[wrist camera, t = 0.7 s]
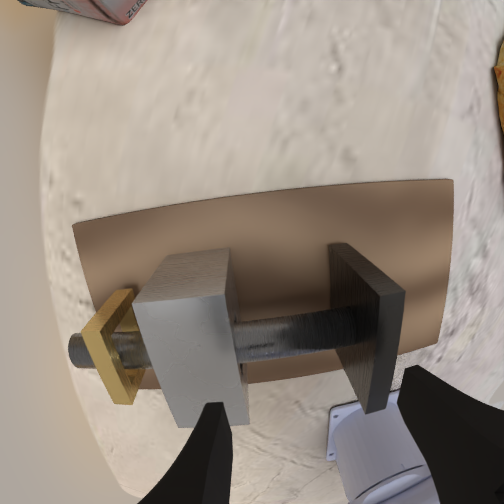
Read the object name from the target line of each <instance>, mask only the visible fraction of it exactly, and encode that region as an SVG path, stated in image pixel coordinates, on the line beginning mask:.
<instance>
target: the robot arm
mask: <svg viewBox="0 0 504 504" xmlns="http://www.w3.org/2000/svg"><path fill="white" fill-rule="evenodd" d="M326 460H327V461H332V460H336V462H337V466H338V469H339V473H340V476H341V479H342V483H343V486H344V490H345V493H346V496H347V499H348V500H349V503H348V504H504V411H503V410H500V409H497V408H495V407H492V406H490V405H487V404H485V403H482V402H480V401H478V400H476V399H474V398H472V397H470V396H468V395H466V394H464V393H463V392H461V391H459V390H457V389H456V388H454V387H452V386H451V385H449V384H447V383H446V382H444V381H443V380H441V379H440V378H438V377H436V376H435V375H433V374H432V373H430V372H429V371H427V370H425V369H424V368H422V367H420V366H419V365H415V366H412V367H408V368H405V370H404V375H403V379H402V383H401V387H400V390H398V391H395V392H392V393H390V394H389V398H388V402H387V406H386V409H384V410H380V411H377V412H373V413H370V414H366V415H365V413H364V411H363V409H362V407H361V404H360V402H355V403H351V404H347V405H342V406H338V407H334V408H332V409H331V411H330V420H329V432H328V443H327V452H326ZM232 461H233V446H232V432H231V429H230V425H229V422H228V418H227V414H226V411H225V407H224V403H223V402H208V403H206V404H205V405H204V408H203V410H202V413H201V415H200V417H199V419H198V422H197V424H196V426H195V428H194V430H193V431H192V433H191V435H190V437H189V439H188V441H187V442H186V444H185V446H184V447H183V449H182V451H181V452H180V454H179V455H178V457H177V458H176V460H175V461H174V463H173V464H172V466H171V467H170V468H169V470H168V471H167V472H166V474H165V475H164V476H163V477H162V479H161V480H160V481H159V482H158V483H157V484H156V485H155V487H154V488H153V489H152V490H151V491H150V492H149V493H148V494H147V495H146V496H145V497H144V498H143V499H142V500H141V501H140V502H139V503H137V504H229V498H230V486H231V474H232Z"/></svg>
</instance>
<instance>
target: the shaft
mask: <svg viewBox="0 0 504 504" xmlns="http://www.w3.org/2000/svg"><path fill="white" fill-rule="evenodd" d="M329 262H330V305H331V309H327V310H321V311H315V312H309V313H303V314H296V315H289V316H282V317H275V318H268V319H260V320H252V321H244V322H235V323H234V336H235V342H236V347H237V353H238V358H239V363H247V362H256V361H264V360H272V359H279V358H286V357H292V356H299V355H305V354H311V353H317V352H322V351H328V350H333V349H335V351H336V353H337V355H338V357H339V359H340V361H341V364H342V366H343V368H344V370H345V372H346V374H347V376H348V378H349V381H350V383H351V385H352V387H353V389H354V391H355V394H356V396H357V398H358V400H359V402H360V404H361V407H362V409H363V411H364V413H365V415H366V414H370V413H373V412H377V411H380V410H384V409H386V406H387V402H388V398H389V394H390V389H391V385H392V380H393V375H394V370H395V365H396V359H397V354H398V348H399V342H400V335H401V328H402V321H403V312H404V304H405V294H406V291H405V290H404V289H403V288H402V287H400V286H399V285H398V284H397V283H396V282H395V281H393V280H392V279H391V278H390V277H389V276H387V275H386V274H385V273H384V272H383V271H381V270H380V269H379V268H378V267H377V266H375V265H374V264H373V263H372V262H370V261H369V260H368V259H367V258H365V257H364V256H363V255H362V254H361V253H359V252H358V251H357V250H356V249H354V248H353V247H352V246H350V245H349V244H348V243H341V244H333V245H329ZM111 336H112V339H113V341H114V344H115V347H116V349H117V352H118V354H119V357H120V359H121V361H122V364H123V366H124V369H153V366H152V363H151V360H150V358H149V355H148V352H147V349H146V347H145V344H144V341H143V338H142V335H141V332H140V331H126V332H113V334H112V335H111ZM68 352H69V357H70V359H71V362H72V363H73V365H74V366H75V367H77V368H87V369H96V367H95V364H94V362H93V360H92V358H91V355H90V353H89V351H88V349H87V346H86V344H85V342H84V339H83V337H82V334H81V333H75V334H73V335H72V336H71V338H70V340H69V345H68Z"/></svg>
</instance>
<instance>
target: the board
mask: <svg viewBox="0 0 504 504" xmlns="http://www.w3.org/2000/svg"><path fill="white" fill-rule="evenodd" d="M453 213H454V184H453V180H452V179H429V180H403V181H383V182H367V183H353V184H340V185H328V186H316V187H306V188H296V189H286V190H277V191H268V192H260V193H252V194H244V195H236V196H229V197H221V198H214V199H207V200H200V201H194V202H187V203H181V204H175V205H169V206H163V207H157V208H151V209H146V210H140V211H135V212H129V213H124V214H119V215H114V216H108V217H103V218H99V219H94V220H89V221H84V222H80V223H76V224H73V225H72V228H73V232H74V237H75V241H76V245H77V249H78V253H79V257H80V261H81V265H82V268H83V272H84V275H85V279H86V282H87V285H88V289H89V292H90V295H91V298H92V301H93V304H94V307H95V310H96V313H97V311H98V310H99V309H100V308H101V307H102V306H103V304H104V303H105V302H106V301H107V300H108V299H109V297H110V296H111V295H112V294H113V293H114V292H115V291H116V290H122V289H133V293H134V297H135V298H136V297H137V295H138V294H139V293H140V291H141V290H142V288H143V287H144V286H145V284H146V283H147V281H148V280H149V279H150V277H151V276H152V275H153V273H154V272H155V270H156V269H157V268H158V266H159V265H160V264H161V262H162V261H163V260H164V258H165V257H166V256H167V255H173V254H180V253H188V252H195V251H203V250H210V249H218V248H226V247H230V253H231V260H232V266H233V273H234V279H235V286H236V292H237V299H238V305H239V311H240V317H241V322H244V321H252V320H260V319H268V318H275V317H282V316H289V315H296V314H303V313H309V312H315V311H321V310H327V309H331V305H330V262H329V245H333V244H341V243H348V244H349V245H350V246H352V247H353V248H354V249H356V250H357V251H358V252H359V253H361V254H362V255H363V256H364V257H365V258H367V259H368V260H369V261H370V262H372V263H373V264H374V265H375V266H377V267H378V268H379V269H380V270H381V271H383V272H384V273H385V274H386V275H387V276H389V277H390V278H391V279H392V280H393V281H395V282H396V283H397V284H398V285H399V286H400V287H402V288H403V289H404V290H405V291H406V294H405V304H404V312H403V321H402V328H401V335H400V342H399V348H398V354H397V355H400V354H404V353H407V352H411V351H414V350H417V349H421V348H424V347H427V346H430V345H433V344H436V343H437V342H438V338H439V333H440V328H441V323H442V318H443V313H444V307H445V301H446V294H447V287H448V280H449V272H450V262H451V251H452V237H453ZM114 332H122V329H121V326H120V323H119V325H118V326H117V328H116V329H115V331H114ZM339 369H344V368H343V366H342V364H341V361H340V359H339V357H338V355H337V353H336V351H335V349H333V350H328V351H322V352H317V353H311V354H305V355H299V356H292V357H286V358H279V359H272V360H264V361H256V362H247V377H248V384H251V383H260V382H268V381H275V380H282V379H289V378H295V377H302V376H308V375H313V374H319V373H324V372H329V371H334V370H339ZM139 389H161V386H160V384H159V381H158V379H157V376H156V374H155V371H154V369H146V371H145V374H144V376H143V379H142V381H141V384H140V386H139Z"/></svg>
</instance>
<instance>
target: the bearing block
mask: <svg viewBox="0 0 504 504" xmlns="http://www.w3.org/2000/svg"><path fill="white" fill-rule="evenodd" d="M132 306H133V310H134V313H135V316H136V319H137V323H138V326H139V329H140V332H141V335H142V338H143V341H144V344H145V347H146V349H147V352H148V355H149V358H150V360H151V363H152V366H153V369H154V371H155V374H156V376H157V379H158V381H159V384H160V386H161V389H162V391H163V394H164V396H165V399H166V401H167V403H168V406H169V408H170V410H171V413H172V415H173V417H174V419H175V421H176V424H177V426H178V428H195V426H196V424H197V422H198V419H199V417H200V415H201V413H202V410H203V408H204V405H205V404H206V403H208V402H223V403H224V407H225V411H226V414H227V418H228V422H229V425H230V426H236V425H248V424H250V420H249V399H248V377H247V363H239V358H238V353H237V347H236V342H235V336H234V323H235V322H241V317H240V311H239V305H238V299H237V292H236V286H235V279H234V273H233V266H232V260H231V253H230V247H226V248H218V249H210V250H203V251H195V252H188V253H180V254H173V255H167V256H166V257H165V258H164V260H163V261H162V262H161V264H160V265H159V266H158V268H157V269H156V270H155V272H154V273H153V275H152V276H151V277H150V279H149V280H148V281H147V283H146V284H145V286H144V287H143V288H142V290H141V291H140V293H139V294H138V295H137V297H136V298H135V300H134V301H133V302H132Z"/></svg>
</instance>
